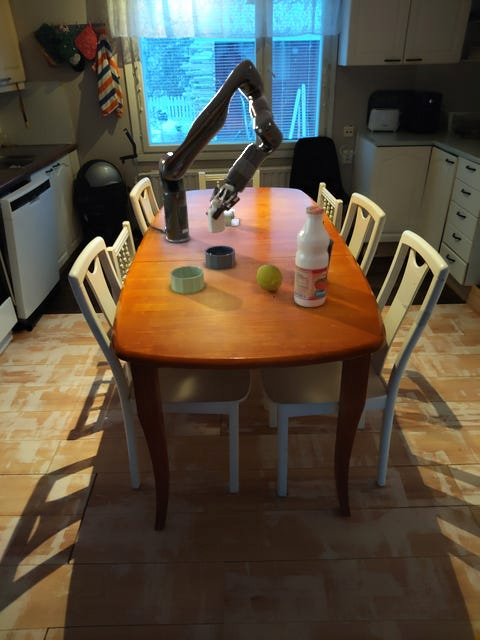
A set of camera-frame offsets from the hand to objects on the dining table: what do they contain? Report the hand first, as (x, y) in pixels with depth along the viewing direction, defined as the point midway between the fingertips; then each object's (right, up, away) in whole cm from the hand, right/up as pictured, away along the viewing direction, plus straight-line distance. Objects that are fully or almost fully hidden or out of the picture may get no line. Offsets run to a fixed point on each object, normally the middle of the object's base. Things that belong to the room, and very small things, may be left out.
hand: (210, 216), depth 154 cm
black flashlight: (+35, -22, -4) cm, 42 cm away
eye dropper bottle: (+2, -4, +4) cm, 6 cm away
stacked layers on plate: (+5, +9, +54) cm, 55 cm away
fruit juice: (+31, -29, -16) cm, 45 cm away
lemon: (+19, -25, -8) cm, 32 cm away
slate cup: (+3, -14, +11) cm, 18 cm away
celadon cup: (-7, -24, -5) cm, 25 cm away
